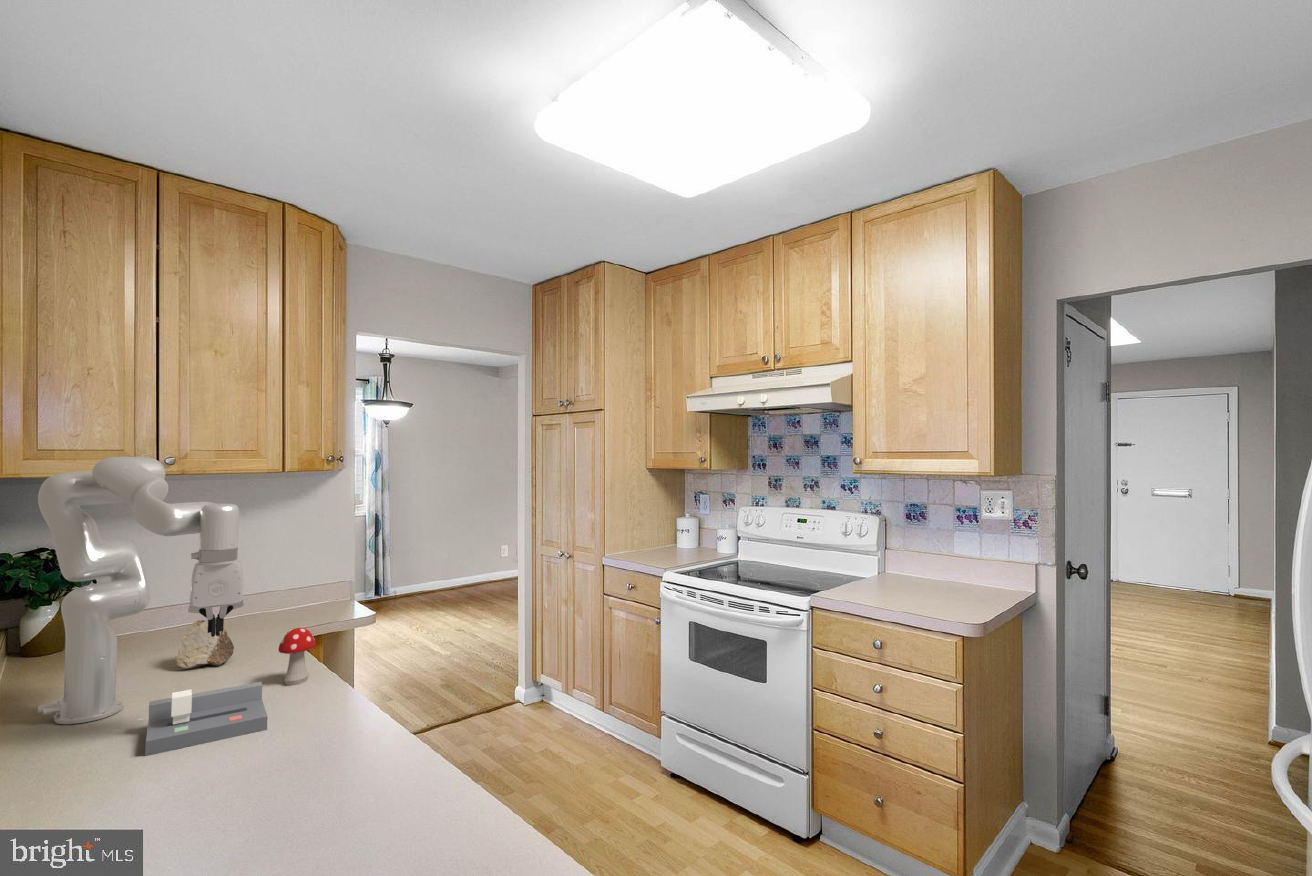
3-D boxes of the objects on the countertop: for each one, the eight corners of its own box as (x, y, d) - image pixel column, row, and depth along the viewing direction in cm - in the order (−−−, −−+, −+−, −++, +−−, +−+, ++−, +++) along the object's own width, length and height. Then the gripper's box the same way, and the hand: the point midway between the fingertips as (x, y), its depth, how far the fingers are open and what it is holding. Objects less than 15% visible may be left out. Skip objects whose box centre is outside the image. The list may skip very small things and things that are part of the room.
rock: (167, 651, 180) (213, 611, 191) (157, 652, 184) (203, 612, 195) (205, 684, 186) (248, 642, 196) (195, 683, 190) (237, 643, 201)
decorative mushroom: (296, 688, 171) (297, 633, 172) (269, 686, 173) (270, 631, 174) (322, 676, 181) (323, 624, 182) (296, 674, 183) (297, 622, 183)
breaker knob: (170, 725, 140) (171, 698, 140) (171, 719, 143) (172, 692, 143) (191, 721, 142) (191, 694, 142) (190, 715, 145) (191, 689, 146)
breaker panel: (145, 755, 132) (146, 724, 133) (148, 729, 145) (149, 701, 145) (267, 729, 146) (267, 700, 146) (260, 707, 158) (261, 681, 159)
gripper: (178, 561, 140) (174, 644, 139) (257, 555, 149) (254, 633, 148) (178, 556, 146) (175, 636, 145) (254, 551, 155) (251, 626, 154)
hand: (215, 634), depth 147 cm, fingers closed
